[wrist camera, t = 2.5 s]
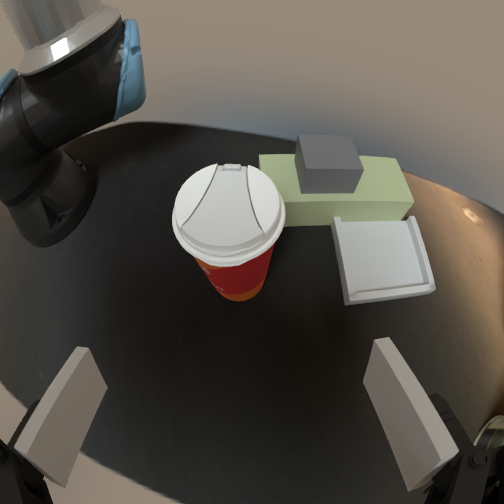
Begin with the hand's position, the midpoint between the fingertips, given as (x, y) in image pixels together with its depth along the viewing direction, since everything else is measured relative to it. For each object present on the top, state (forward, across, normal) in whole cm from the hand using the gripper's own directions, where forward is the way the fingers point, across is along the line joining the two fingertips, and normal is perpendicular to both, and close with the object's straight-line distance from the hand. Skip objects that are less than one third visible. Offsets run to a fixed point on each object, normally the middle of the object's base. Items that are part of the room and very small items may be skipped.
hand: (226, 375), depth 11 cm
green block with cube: (+22, +13, -1) cm, 25 cm away
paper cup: (+19, 0, -4) cm, 19 cm away
